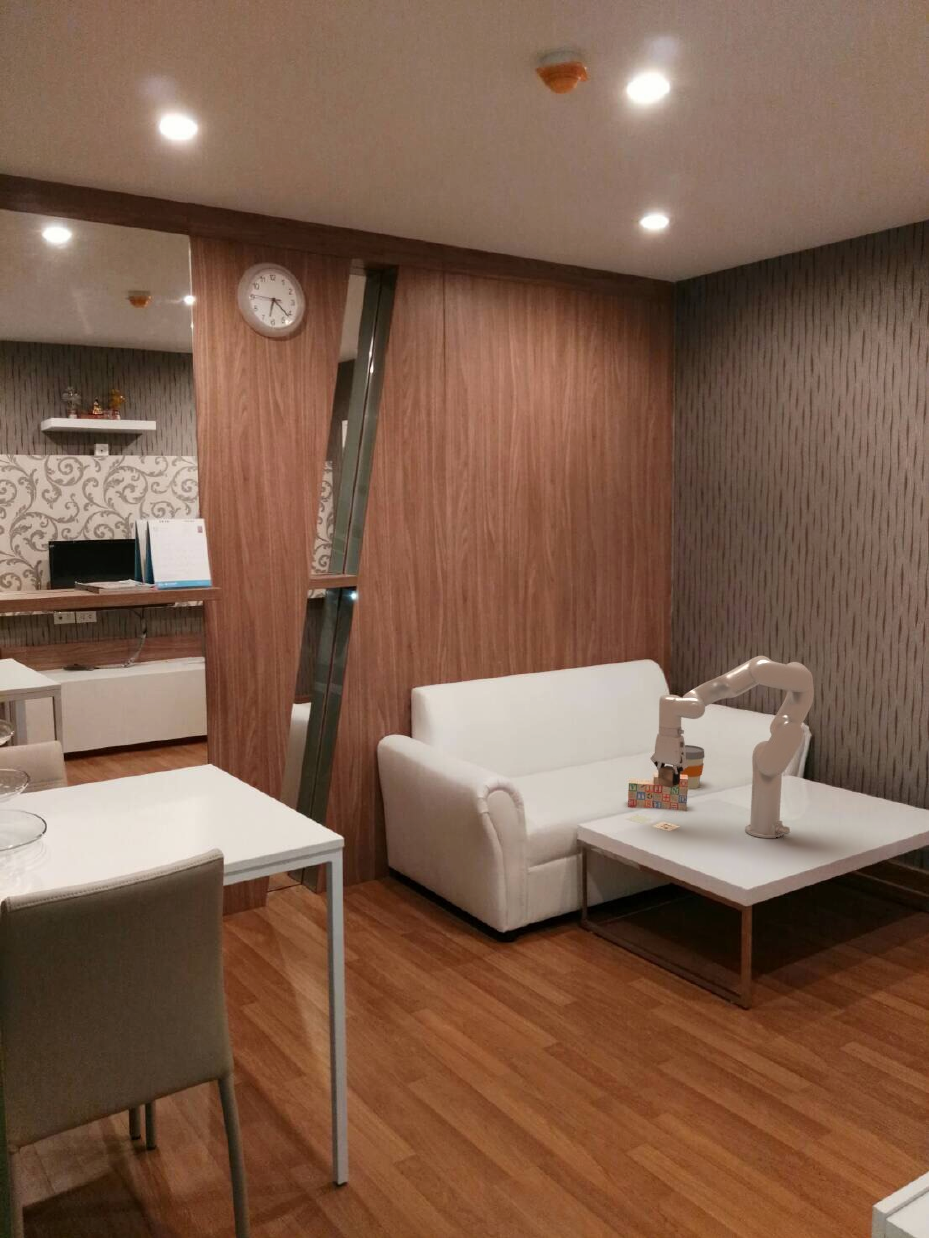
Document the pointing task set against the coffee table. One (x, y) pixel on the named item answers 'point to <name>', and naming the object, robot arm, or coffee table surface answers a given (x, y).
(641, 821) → the mat
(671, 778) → the walnut block
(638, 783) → the stack of blocks
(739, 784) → the coffee table surface
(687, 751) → the reusable coffee cup
